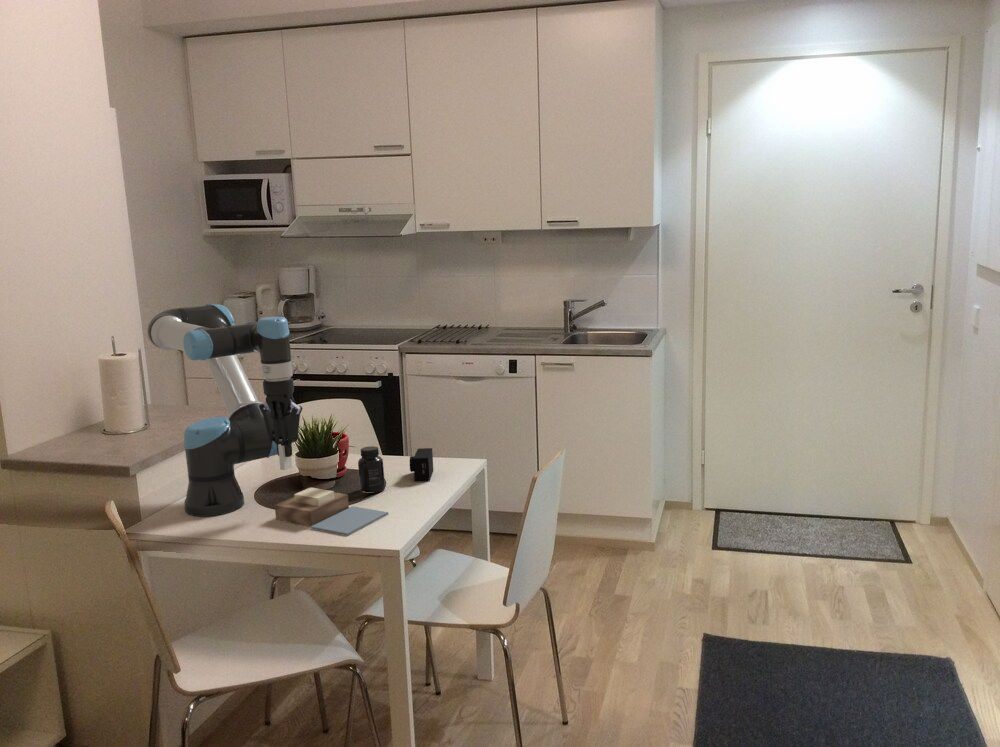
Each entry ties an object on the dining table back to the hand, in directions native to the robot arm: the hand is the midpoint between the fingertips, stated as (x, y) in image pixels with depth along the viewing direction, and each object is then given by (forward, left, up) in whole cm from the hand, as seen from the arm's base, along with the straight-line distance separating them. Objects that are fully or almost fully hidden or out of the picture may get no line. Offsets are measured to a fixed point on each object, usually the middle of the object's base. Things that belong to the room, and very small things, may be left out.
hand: (286, 468), depth 230 cm
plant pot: (-11, +28, -12) cm, 33 cm away
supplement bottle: (+10, +22, -12) cm, 27 cm away
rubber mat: (+20, 0, -12) cm, 23 cm away
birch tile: (+9, 0, -8) cm, 12 cm away
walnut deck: (+8, 0, -12) cm, 14 cm away
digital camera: (+15, +38, -12) cm, 43 cm away
